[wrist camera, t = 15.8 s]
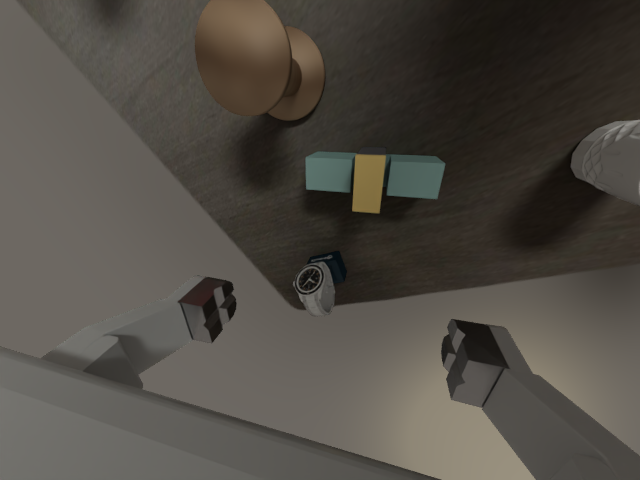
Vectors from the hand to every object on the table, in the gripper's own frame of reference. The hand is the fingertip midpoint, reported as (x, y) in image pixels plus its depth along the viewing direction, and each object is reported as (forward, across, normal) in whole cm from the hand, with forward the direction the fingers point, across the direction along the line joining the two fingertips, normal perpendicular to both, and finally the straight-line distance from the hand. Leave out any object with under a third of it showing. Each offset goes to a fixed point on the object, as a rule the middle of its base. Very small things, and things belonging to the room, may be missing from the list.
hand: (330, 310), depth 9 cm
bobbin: (+29, +12, -11) cm, 33 cm away
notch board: (+29, 0, 0) cm, 29 cm away
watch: (+29, +6, +17) cm, 34 cm away
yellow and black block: (+27, 0, 0) cm, 27 cm away
